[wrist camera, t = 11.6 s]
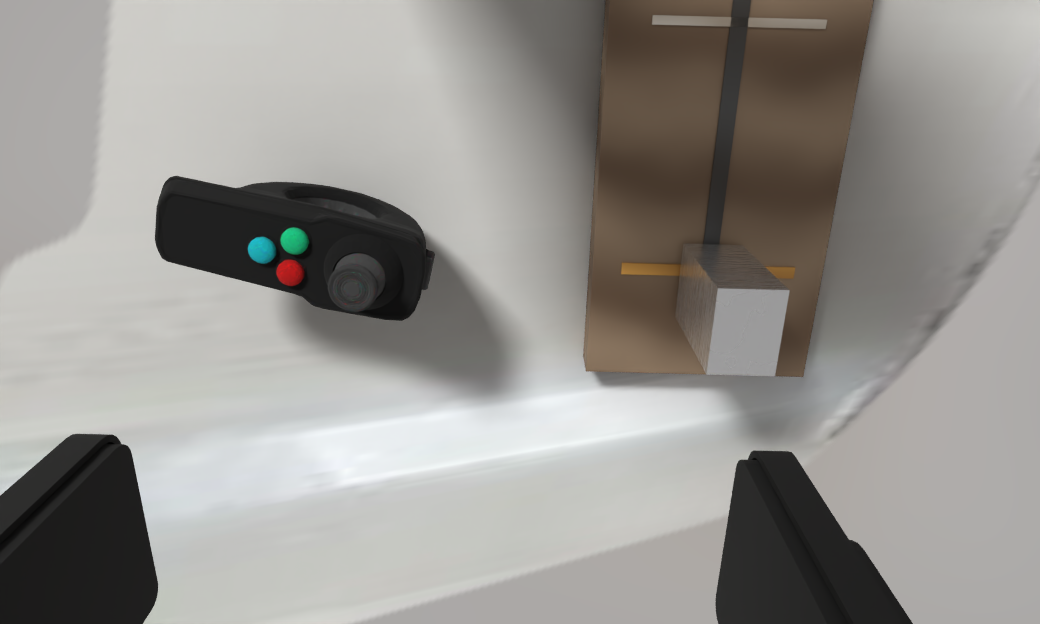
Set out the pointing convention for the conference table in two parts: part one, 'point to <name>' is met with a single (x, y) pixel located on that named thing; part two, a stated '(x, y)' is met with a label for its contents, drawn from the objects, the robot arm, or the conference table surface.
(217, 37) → the conference table surface
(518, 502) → the conference table surface
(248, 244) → the controller
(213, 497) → the conference table surface
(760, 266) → the fader tab
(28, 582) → the robot arm
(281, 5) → the conference table surface
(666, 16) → the fader console
